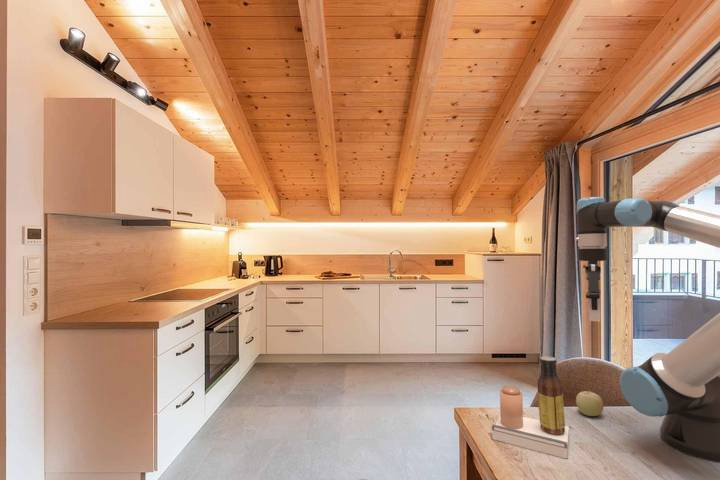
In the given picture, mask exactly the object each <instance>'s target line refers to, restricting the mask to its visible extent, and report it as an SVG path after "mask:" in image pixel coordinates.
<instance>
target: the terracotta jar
mask: <svg viewBox="0 0 720 480" xmlns="http://www.w3.org/2000/svg"><path fill="white" fill-rule="evenodd" d="M523 401H524V400H523V393H522V391H521V390H520V388H519V387H517V386H514V385H504V386H502V388H500V390H499V408H500V409H499V410H500V414H499V416H500V417H501V424H502V425H503V426H505V427H507V428H511V429H521V428H523V417H524V404H523Z"/></svg>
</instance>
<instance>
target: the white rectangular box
mask: <svg viewBox="0 0 720 480" xmlns="http://www.w3.org/2000/svg"><path fill="white" fill-rule="evenodd" d="M491 428H492V429H491V431H492V433H491V435H492V436H491V437H492V440H494V441H498V442H502V443H505V444H509V445H514V446H517V447H521V448H525V449H529V450H532V451H537V452H539V453H544V454H547V455H551V456H555V457H559V458H563V459H568V456H569V455H568V453H569V443H570V442H569V441H570V427H569V426H566V425H565V432H564V433H563V434H560V435H555V434H550V433H547V432H545V431H544V430H543V429H542V428H541V424H540V419H535V418H530V417H526V416H523V428H521V429H511V428H507V427H505V426H503V425H502V424H501V417H500V415H499V416H498V418H497V421H496V422H495V424H492V426H491Z"/></svg>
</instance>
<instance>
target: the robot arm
mask: <svg viewBox="0 0 720 480" xmlns="http://www.w3.org/2000/svg"><path fill="white" fill-rule="evenodd" d="M575 214H576V227H577V228H576V229H577V237H575V241H576V242H577V247H578V249H577V258H578V259H577V260H578V261H581V262H583V261H585V262H587V266H585V268H584V270H585V274H586V280H587V281H588V283H587V284H588V288H587V289H588V290H587V291H588V293H587V294H586V295H585V298H586V299H588V319H589V320H588V321H590V322H601V302H600V296H601V289H600V283H599V282H600V280H601V273H602V271H601V270H602V269H601V266H599V264H598V262H604V261H607V260H608V249H607V248H606V247H607V246H608V236H607V235H608V233H607V228H620V227H621V228H622V227H624V228H625V227H626V228H627V227H629V228H630V227H631V228H632V227H637V228H639V227H641V228H644V227H645V228H654V229H658V230H661V231H665V232H667V233H668V232H669V233H672V234H675V235H678V236H681V237H684V238H687V239H691V240H693V241H696V242H700V243H703V244H706V245H709V246H712V247H715V248H718V249H720V215H719V214H714V213H711V212H710V213H709V212H705V211H702V210H697V209H695V208H690V207H685V206H681V205H679V203H676V202H673V201H668V200H646V199H644V198H642V197H636V198H635V197H634V198H633V197H632V198H631V197H628V198H625V199H619V200H613V201H608V202H606V199H605V197H602V196H590V197H581V198H580V199H578V201H577V202H576V212H575ZM619 385H620V390H621V393H622V395H623V396H624V399H625V400H626V401H627V403H628V404H629V405H630V406H631V407H632V408H633V409H634V410H635V411H637V412H638V413H640V414H643V415H644V416H647V417H661V418H662V417H663V420H662V422H661V424H660V427H659V428H660V429H659V435H660V437H659V438H661V440H662V442H664V444H666V445H667V446H669V447H671V448H673V449H674V450H676V451H678V452H681V453H683V454H686V455H689V456H692V457H695V458H698V459H702V460H705V461H706V460H707V461H712V462H719V463H720V312H718V313H717V314H716V315H715V316H714V317H712V318H711V319H710V320H708V321H707V322H706V323H704V324H703V325H702V326H701V327H700V328H698V329H697V330H695V332H693V333H692V334H690V336H688V337H687V338H686V339H684V340H683V341H682V342H680V343H679V344H678V345H677V346H676V347H674V348H673V349H671V350H670V351H669V352H668V353H666V352H665V353H664V352H656V353H655V354H653V355H652V356H650V357H649V358H648V359H647V360H646V361H644V362H643V363H642V364H640V365H639V366H630V367H628V368H626V369H623V371H622V372H621V374H620V376H619Z"/></svg>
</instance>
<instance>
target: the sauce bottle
mask: <svg viewBox="0 0 720 480" xmlns="http://www.w3.org/2000/svg"><path fill="white" fill-rule="evenodd" d="M539 363H540V369H541V370H540V375H539V378H538V380H537V396H538V399H537V400H538V402H537V403H538V413H539V414H538V415H539V420H540V424H541V428H542V429H543V430H544V431H545V432H547V433H550V434H555V435H560V434H563V433H564V432H565V426H566V421H565V420H566V419H565V418H566V417H565V407H564V405H565V404H564V393H563V385H562V381H561V380H560V378H559V376H558V373H557V368H556V367H557V366H556V365H557V359H556V358H555V357H554V356H547V355H544V356H543V355H542V356H540V357H539Z"/></svg>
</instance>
